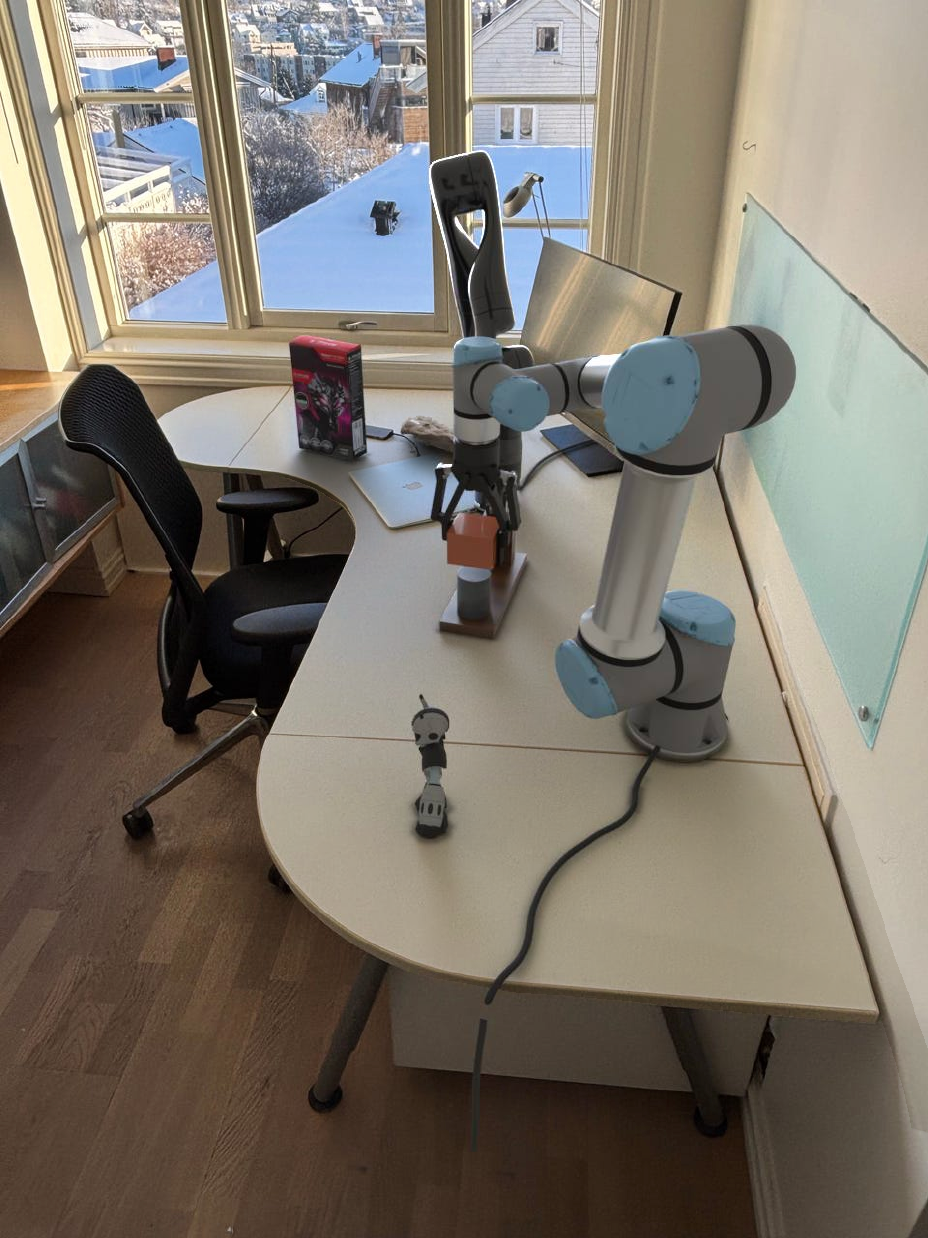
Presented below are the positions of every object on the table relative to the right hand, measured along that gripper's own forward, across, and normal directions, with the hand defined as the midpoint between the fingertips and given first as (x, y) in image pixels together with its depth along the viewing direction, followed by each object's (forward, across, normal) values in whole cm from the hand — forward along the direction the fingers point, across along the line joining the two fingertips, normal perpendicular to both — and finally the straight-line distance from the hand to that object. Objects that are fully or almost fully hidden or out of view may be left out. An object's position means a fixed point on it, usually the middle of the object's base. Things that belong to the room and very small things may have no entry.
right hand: (475, 559), depth 161 cm
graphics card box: (+12, +53, -63) cm, 84 cm away
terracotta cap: (-1, 0, 0) cm, 1 cm away
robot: (+13, -7, +49) cm, 51 cm away
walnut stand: (+13, 0, -9) cm, 16 cm away
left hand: (+6, 0, -19) cm, 20 cm away
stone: (+12, +29, -74) cm, 81 cm away
